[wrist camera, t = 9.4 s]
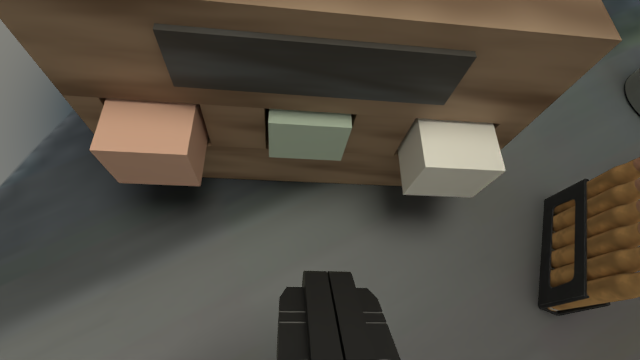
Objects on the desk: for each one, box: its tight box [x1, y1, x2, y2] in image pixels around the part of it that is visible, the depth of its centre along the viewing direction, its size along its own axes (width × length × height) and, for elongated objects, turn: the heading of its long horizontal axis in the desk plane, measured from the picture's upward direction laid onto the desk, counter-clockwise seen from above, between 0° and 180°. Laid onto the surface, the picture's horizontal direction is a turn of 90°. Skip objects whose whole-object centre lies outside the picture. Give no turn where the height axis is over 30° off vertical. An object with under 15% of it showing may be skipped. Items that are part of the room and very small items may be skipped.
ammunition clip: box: [538, 157, 640, 316], centre depth 27 cm, size 11×2×12 cm, turn 160°
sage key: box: [268, 109, 352, 161], centre depth 26 cm, size 6×5×4 cm
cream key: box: [398, 118, 506, 198], centre depth 26 cm, size 6×5×4 cm
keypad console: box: [0, 0, 622, 186], centre depth 26 cm, size 7×30×18 cm, turn 90°
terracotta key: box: [90, 98, 209, 186], centre depth 24 cm, size 6×5×4 cm
